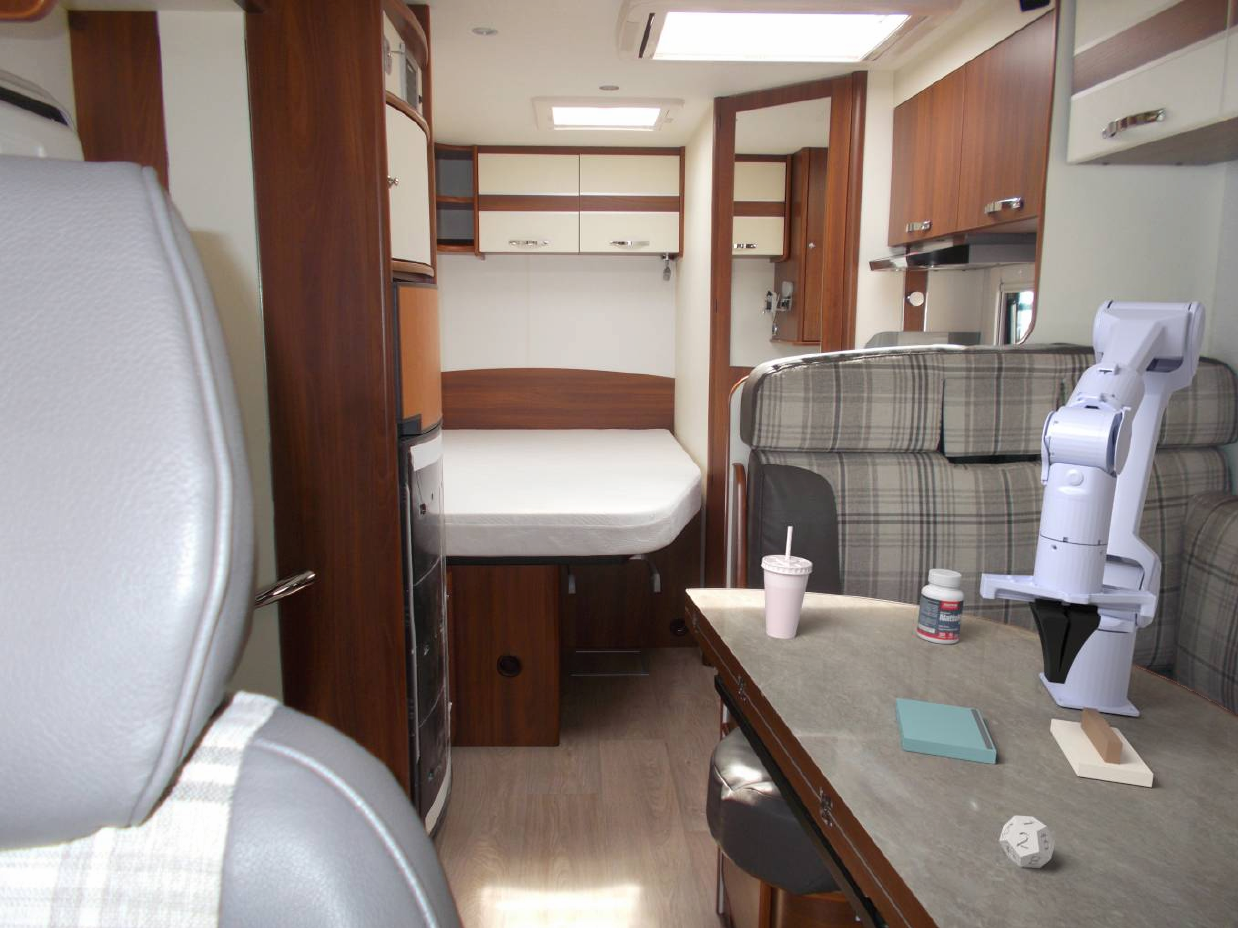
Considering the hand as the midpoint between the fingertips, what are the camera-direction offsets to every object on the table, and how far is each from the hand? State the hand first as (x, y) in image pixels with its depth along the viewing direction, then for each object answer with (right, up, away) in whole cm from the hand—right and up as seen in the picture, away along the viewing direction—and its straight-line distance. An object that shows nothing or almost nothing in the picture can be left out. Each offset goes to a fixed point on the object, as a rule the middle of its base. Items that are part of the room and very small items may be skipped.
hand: (1054, 679), depth 84 cm
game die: (-11, -9, -18) cm, 23 cm away
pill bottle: (+1, -3, +33) cm, 33 cm away
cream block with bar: (+4, -7, 0) cm, 8 cm away
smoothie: (-20, -2, +31) cm, 37 cm away
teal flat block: (-10, -6, +3) cm, 12 cm away
